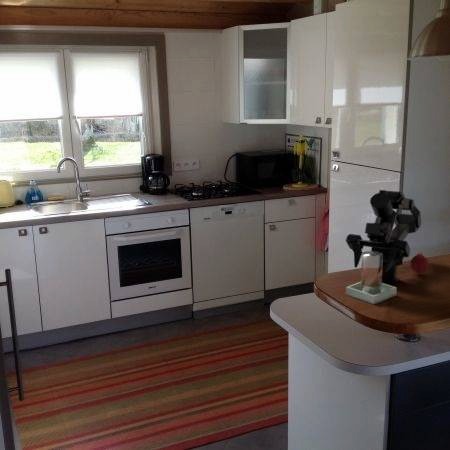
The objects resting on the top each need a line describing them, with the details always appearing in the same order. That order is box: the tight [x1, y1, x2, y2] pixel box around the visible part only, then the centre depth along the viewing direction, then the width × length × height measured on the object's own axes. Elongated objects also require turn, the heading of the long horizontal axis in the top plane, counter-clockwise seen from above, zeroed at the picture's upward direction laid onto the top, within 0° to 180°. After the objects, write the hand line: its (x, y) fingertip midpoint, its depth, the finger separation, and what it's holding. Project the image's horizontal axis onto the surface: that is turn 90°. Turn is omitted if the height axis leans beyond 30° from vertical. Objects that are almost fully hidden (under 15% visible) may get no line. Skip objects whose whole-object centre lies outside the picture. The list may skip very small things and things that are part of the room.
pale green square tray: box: [345, 281, 398, 305], centre depth 167 cm, size 11×11×2 cm
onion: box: [409, 251, 430, 276], centre depth 181 cm, size 6×6×8 cm
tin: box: [360, 250, 383, 295], centre depth 165 cm, size 6×6×12 cm
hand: (369, 269), depth 164 cm, fingers open, 9 cm apart
